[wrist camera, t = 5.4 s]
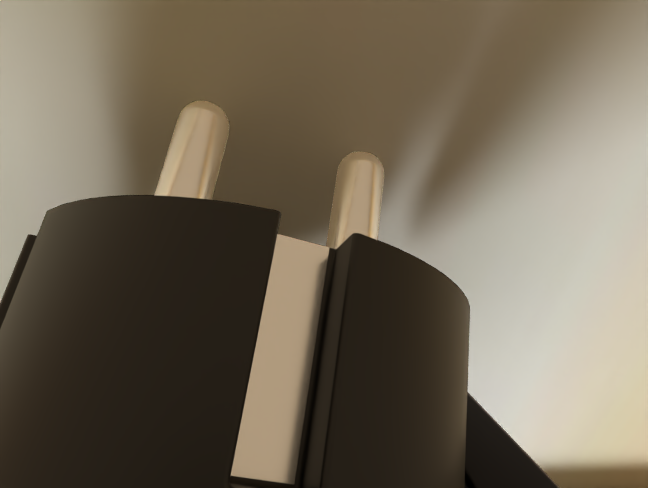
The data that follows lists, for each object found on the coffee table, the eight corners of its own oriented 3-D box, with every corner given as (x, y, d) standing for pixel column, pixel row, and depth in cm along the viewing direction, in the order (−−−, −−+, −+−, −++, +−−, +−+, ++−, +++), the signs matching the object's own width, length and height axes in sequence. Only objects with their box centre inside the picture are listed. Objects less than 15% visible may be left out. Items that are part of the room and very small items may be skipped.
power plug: (32, 547, 13) (-567, 1172, 2) (122, 263, 16) (82, -112, 5) (254, 568, 14) (623, 1003, 3) (298, 304, 17) (569, 81, 6)
